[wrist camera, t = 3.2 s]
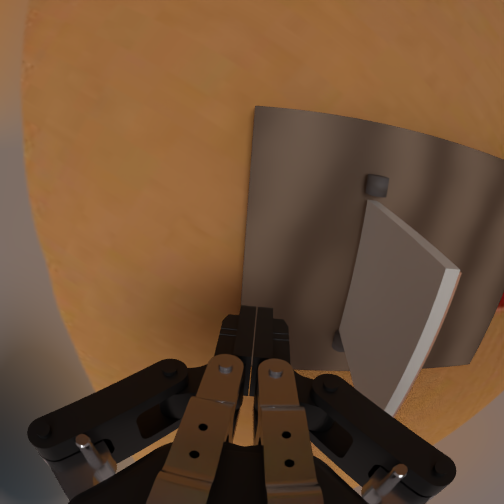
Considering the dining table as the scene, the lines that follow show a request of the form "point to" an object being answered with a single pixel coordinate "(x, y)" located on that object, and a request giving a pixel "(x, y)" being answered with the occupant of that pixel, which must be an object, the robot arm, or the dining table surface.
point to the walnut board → (351, 223)
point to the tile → (393, 307)
